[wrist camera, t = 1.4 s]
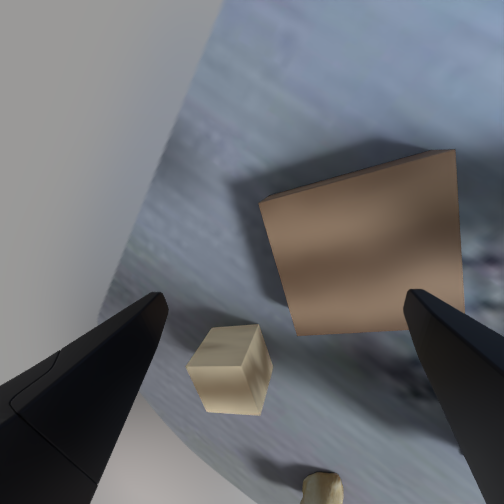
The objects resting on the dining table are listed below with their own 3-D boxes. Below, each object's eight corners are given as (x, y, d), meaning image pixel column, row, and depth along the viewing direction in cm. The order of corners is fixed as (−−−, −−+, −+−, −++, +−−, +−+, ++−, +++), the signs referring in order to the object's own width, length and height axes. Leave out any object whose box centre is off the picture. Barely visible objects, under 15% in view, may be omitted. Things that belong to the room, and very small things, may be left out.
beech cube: (273, 366, 29) (260, 415, 23) (228, 366, 31) (206, 411, 25) (258, 323, 27) (241, 365, 22) (212, 327, 29) (185, 366, 24)
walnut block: (442, 296, 21) (465, 326, 17) (301, 310, 25) (297, 336, 22) (429, 150, 17) (455, 149, 14) (270, 194, 22) (258, 203, 18)
